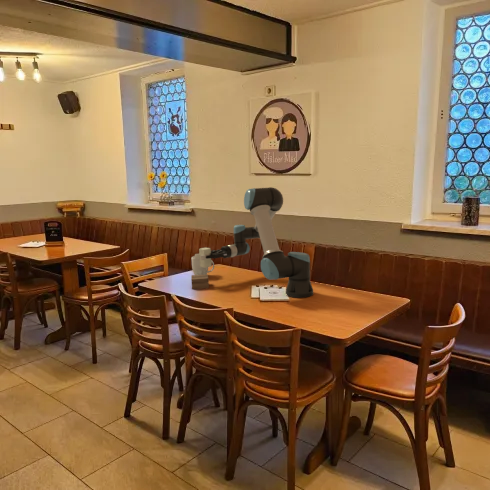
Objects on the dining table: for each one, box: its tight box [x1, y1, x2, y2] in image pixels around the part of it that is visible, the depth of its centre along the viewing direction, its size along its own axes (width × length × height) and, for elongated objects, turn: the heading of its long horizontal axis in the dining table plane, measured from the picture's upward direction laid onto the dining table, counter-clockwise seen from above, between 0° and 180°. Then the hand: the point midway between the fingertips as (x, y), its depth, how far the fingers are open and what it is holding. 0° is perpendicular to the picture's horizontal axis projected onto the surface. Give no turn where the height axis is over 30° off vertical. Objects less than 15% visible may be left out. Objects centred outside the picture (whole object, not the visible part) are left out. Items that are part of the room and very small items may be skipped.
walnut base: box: [191, 273, 210, 290], centre depth 262 cm, size 10×10×6 cm
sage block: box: [198, 247, 213, 268], centre depth 263 cm, size 5×5×11 cm
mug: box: [191, 255, 215, 275], centre depth 287 cm, size 15×11×13 cm
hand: (198, 257), depth 259 cm, fingers closed on sage block, 5 cm apart
